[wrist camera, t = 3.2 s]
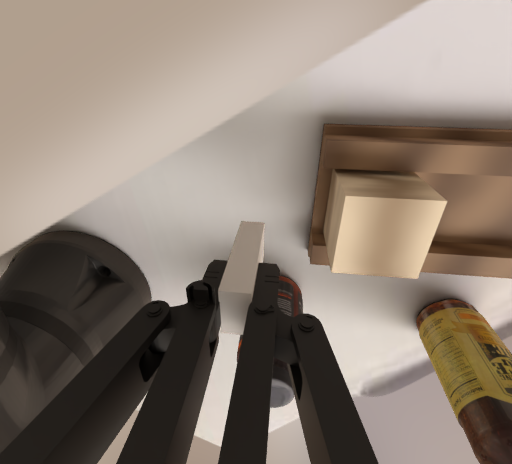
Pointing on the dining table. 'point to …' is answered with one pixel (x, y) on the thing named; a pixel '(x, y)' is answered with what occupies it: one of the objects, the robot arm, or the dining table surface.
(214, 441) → the dining table surface
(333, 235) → the block
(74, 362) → the robot arm
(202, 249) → the dining table surface
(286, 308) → the supplement bottle
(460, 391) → the sauce bottle
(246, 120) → the dining table surface
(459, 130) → the walnut chute
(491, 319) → the dining table surface
